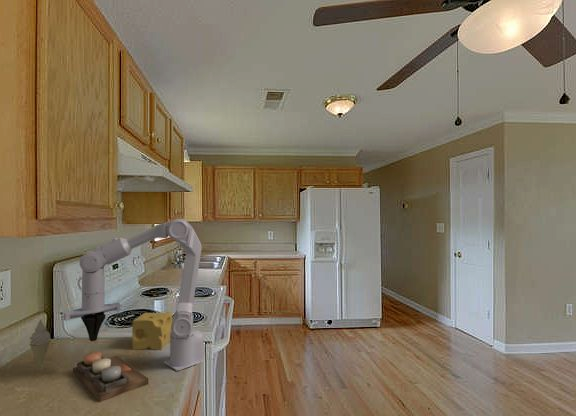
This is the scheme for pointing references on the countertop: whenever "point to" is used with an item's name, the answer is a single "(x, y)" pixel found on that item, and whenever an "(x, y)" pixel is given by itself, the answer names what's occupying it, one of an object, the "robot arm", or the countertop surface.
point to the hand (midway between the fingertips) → (93, 340)
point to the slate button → (111, 373)
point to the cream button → (101, 365)
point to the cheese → (151, 330)
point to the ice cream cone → (40, 344)
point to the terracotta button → (92, 357)
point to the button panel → (110, 388)
